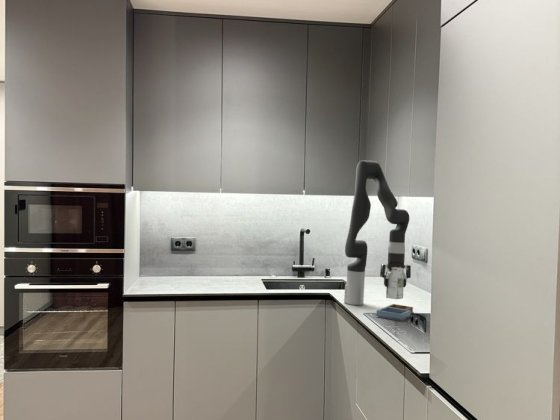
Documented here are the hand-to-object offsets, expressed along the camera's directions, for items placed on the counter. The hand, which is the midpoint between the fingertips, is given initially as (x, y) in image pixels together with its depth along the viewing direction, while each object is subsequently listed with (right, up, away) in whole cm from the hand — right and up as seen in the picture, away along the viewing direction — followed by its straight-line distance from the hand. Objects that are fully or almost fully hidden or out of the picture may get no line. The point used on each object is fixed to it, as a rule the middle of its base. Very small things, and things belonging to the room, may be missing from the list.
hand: (394, 287), depth 214 cm
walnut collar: (+5, -14, +12) cm, 19 cm away
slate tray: (-1, -14, 0) cm, 14 cm away
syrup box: (0, -5, 0) cm, 5 cm away
